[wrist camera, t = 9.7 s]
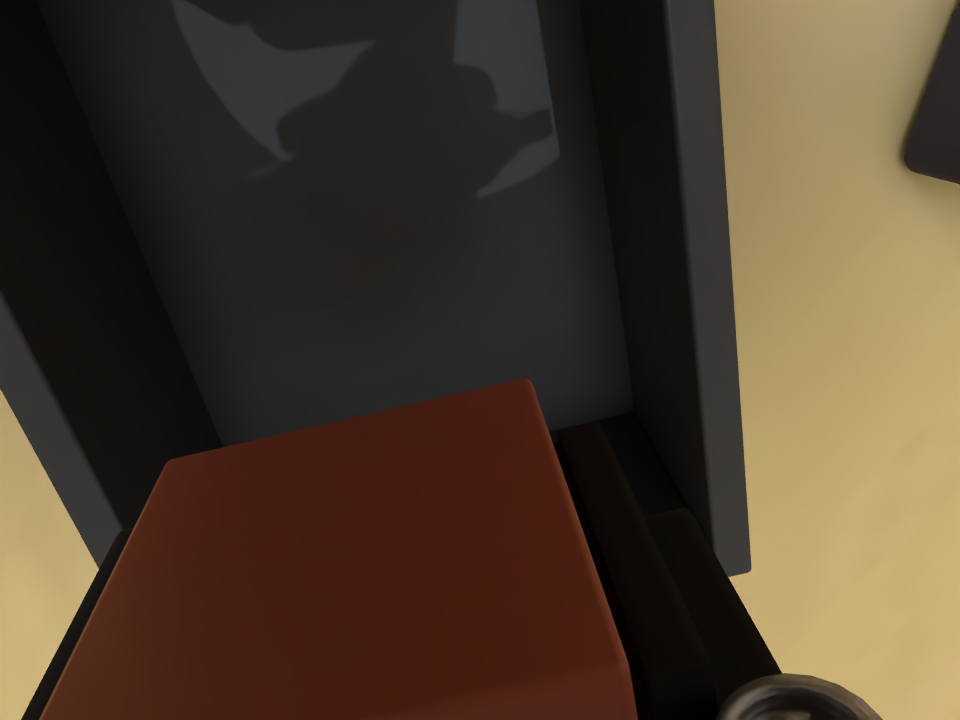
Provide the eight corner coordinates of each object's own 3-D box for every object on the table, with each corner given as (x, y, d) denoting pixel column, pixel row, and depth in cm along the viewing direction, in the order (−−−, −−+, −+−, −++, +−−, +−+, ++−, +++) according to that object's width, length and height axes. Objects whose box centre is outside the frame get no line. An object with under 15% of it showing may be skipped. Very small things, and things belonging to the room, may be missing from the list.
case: (657, 415, 23) (753, 573, 16) (233, 512, 23) (171, 706, 16) (577, -238, 16) (691, -383, 10) (-29, -98, 16) (-300, -153, 10)
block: (164, 457, 9) (-14, 812, 5) (529, 374, 9) (629, 664, 5) (282, 712, 11) (217, 1115, 7) (584, 643, 11) (687, 1007, 7)
